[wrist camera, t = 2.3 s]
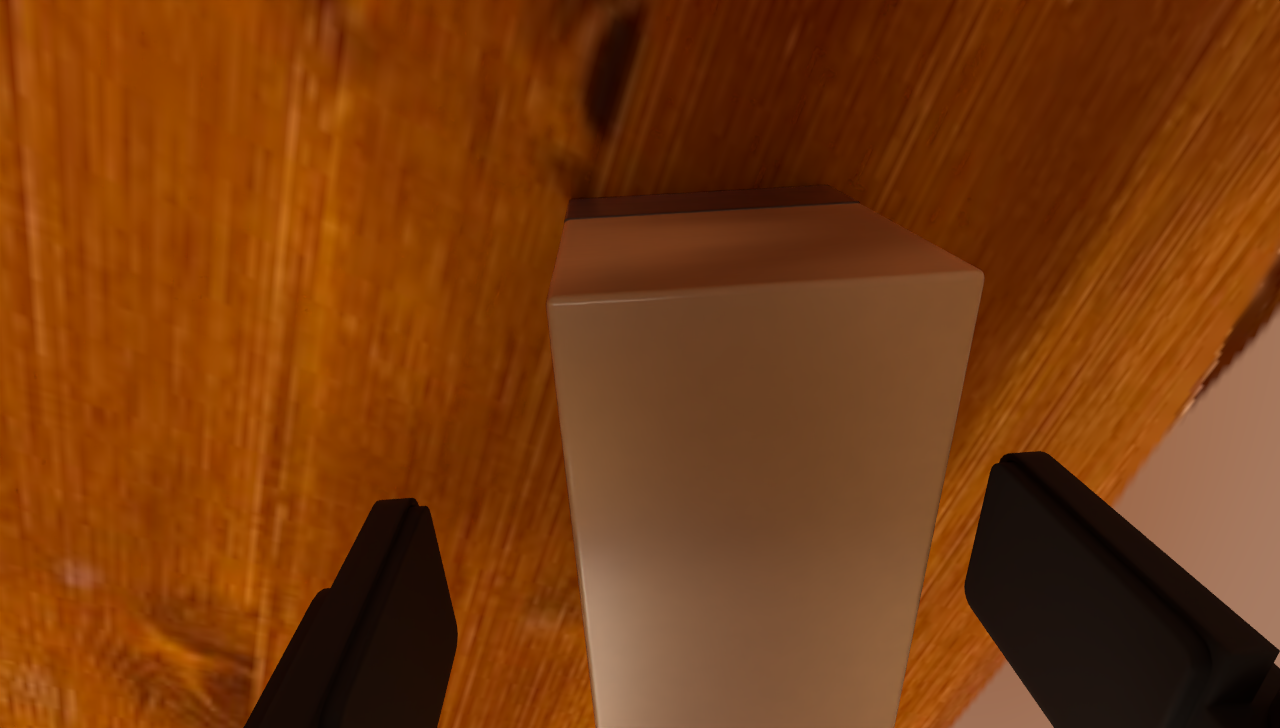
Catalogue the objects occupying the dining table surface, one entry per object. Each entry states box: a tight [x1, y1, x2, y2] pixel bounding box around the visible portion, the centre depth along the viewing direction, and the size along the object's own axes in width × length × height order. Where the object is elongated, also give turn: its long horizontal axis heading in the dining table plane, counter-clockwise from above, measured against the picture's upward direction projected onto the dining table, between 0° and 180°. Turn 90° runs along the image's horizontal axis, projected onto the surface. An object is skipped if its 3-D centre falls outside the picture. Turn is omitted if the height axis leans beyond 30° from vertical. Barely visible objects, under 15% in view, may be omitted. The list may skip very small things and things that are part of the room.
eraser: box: [546, 185, 984, 728], centre depth 11 cm, size 4×10×5 cm, turn 3°
